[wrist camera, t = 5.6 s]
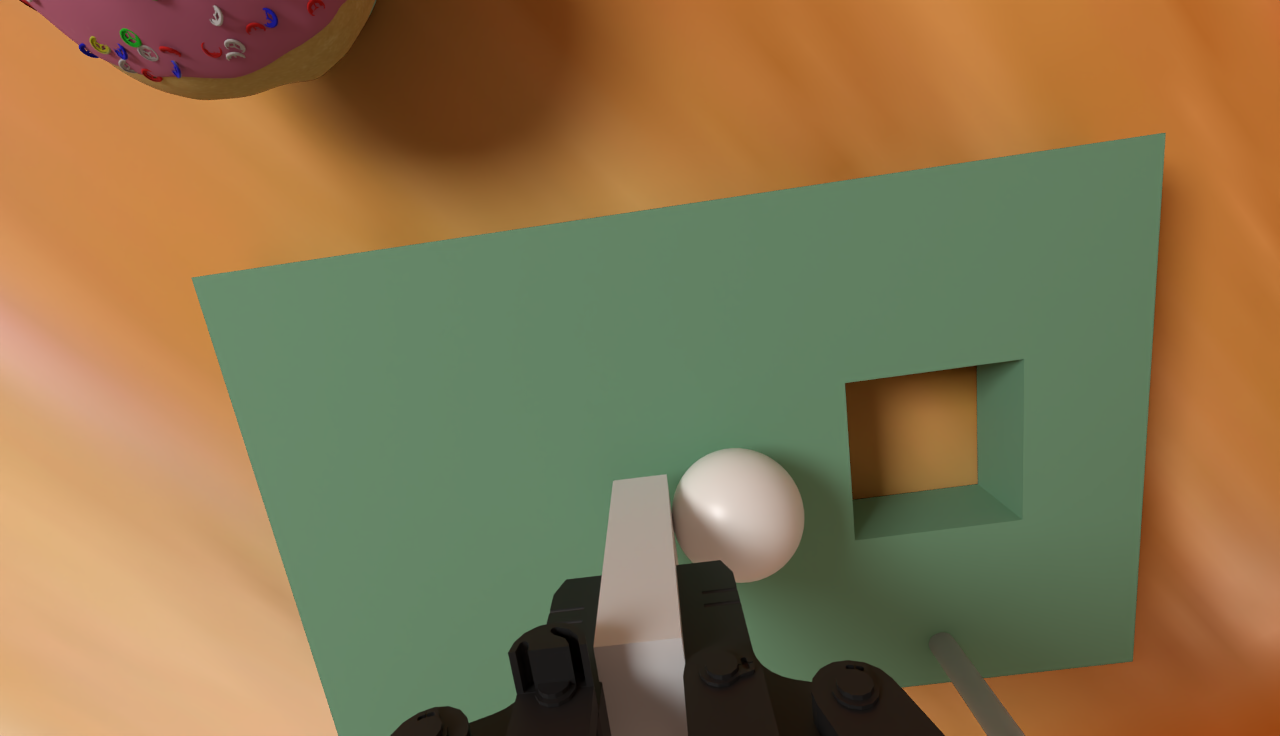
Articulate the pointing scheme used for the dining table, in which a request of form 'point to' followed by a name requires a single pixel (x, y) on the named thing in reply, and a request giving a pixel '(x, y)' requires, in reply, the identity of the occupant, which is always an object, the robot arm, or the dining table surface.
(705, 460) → the ball
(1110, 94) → the dining table surface
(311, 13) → the cupcake
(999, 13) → the dining table surface
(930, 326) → the putting mat
